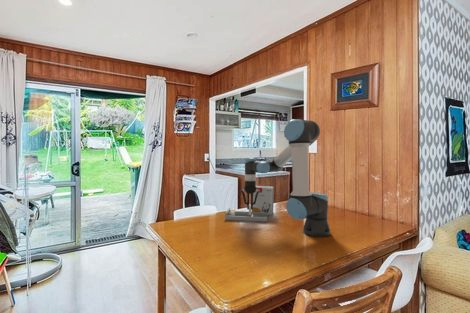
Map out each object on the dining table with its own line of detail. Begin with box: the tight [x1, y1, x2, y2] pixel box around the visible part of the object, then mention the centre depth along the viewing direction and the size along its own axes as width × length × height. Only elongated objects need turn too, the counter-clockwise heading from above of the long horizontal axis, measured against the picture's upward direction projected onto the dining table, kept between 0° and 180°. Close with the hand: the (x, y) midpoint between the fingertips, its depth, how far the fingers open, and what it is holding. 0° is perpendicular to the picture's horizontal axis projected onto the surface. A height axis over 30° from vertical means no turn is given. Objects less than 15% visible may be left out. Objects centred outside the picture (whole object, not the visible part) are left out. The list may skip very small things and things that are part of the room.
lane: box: [224, 207, 269, 223], centre depth 177 cm, size 28×14×5 cm, turn 81°
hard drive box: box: [251, 185, 275, 216], centre depth 192 cm, size 16×8×20 cm, turn 73°
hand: (249, 214), depth 177 cm, fingers closed
